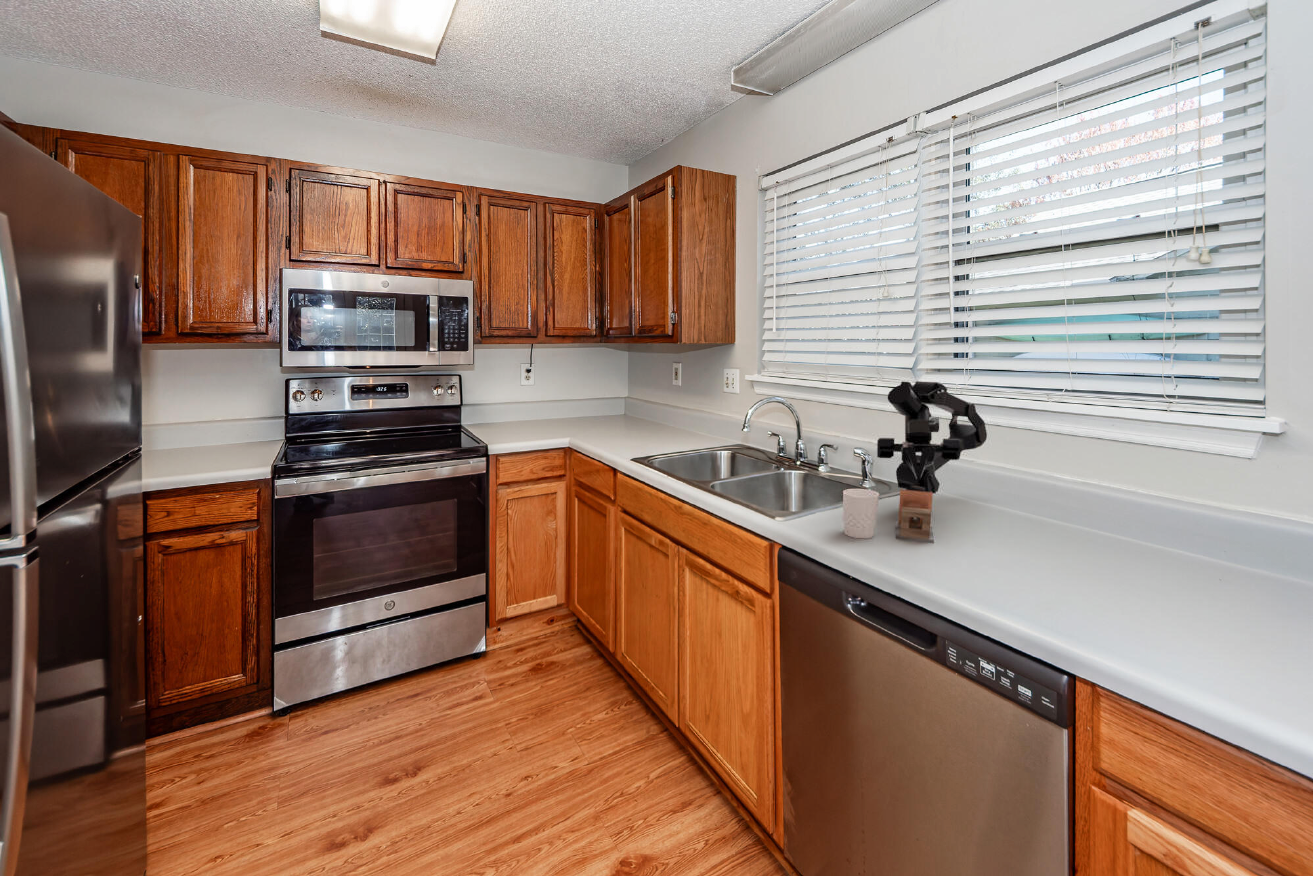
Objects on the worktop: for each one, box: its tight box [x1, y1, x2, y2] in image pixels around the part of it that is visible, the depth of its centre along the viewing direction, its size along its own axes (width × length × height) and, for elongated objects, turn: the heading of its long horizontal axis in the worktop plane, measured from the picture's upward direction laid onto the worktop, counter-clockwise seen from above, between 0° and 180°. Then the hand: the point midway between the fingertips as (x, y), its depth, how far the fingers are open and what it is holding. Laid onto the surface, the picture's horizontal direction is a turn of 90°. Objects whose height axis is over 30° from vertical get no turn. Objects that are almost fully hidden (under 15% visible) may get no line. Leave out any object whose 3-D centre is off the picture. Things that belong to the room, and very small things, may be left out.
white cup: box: [842, 488, 880, 539], centre depth 135 cm, size 8×8×10 cm
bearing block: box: [895, 507, 935, 544], centre depth 135 cm, size 10×8×7 cm
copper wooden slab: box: [897, 488, 934, 526], centre depth 136 cm, size 5×7×9 cm
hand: (918, 478), depth 138 cm, fingers closed
